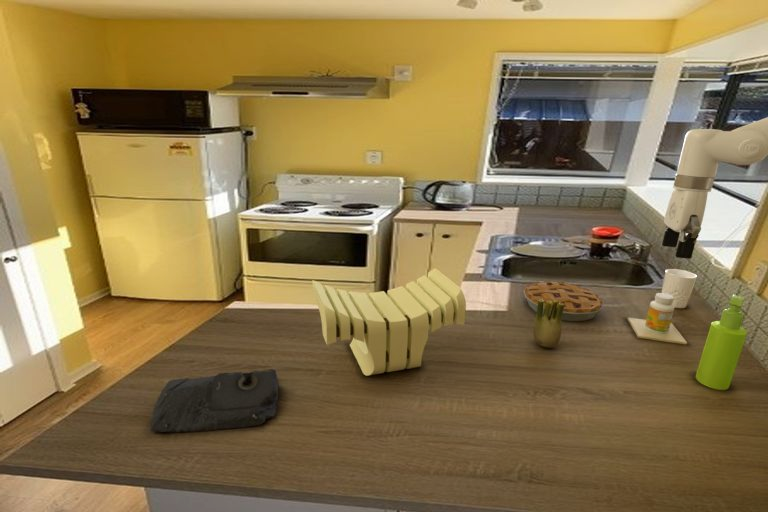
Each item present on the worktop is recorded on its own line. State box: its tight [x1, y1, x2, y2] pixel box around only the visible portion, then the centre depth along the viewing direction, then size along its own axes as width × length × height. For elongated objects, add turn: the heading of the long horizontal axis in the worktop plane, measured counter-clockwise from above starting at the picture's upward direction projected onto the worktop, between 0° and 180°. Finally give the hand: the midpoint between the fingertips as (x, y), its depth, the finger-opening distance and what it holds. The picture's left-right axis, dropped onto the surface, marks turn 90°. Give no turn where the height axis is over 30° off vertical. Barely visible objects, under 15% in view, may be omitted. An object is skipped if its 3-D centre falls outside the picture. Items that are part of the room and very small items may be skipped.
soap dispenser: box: [695, 294, 748, 391], centre depth 88 cm, size 6×7×20 cm
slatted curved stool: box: [311, 267, 467, 377], centre depth 94 cm, size 30×16×18 cm, turn 108°
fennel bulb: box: [533, 300, 565, 349], centre depth 103 cm, size 6×5×12 cm
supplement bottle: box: [645, 292, 675, 334], centre depth 111 cm, size 5×5×10 cm
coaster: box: [627, 317, 688, 345], centre depth 113 cm, size 11×11×1 cm
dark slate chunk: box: [149, 368, 279, 434], centre depth 80 cm, size 15×22×5 cm
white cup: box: [661, 268, 698, 309], centre depth 129 cm, size 8×8×10 cm
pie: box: [523, 280, 604, 322], centre depth 125 cm, size 22×22×5 cm
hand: (675, 251), depth 106 cm, fingers open, 9 cm apart
